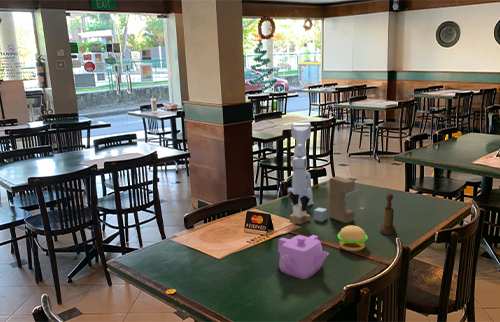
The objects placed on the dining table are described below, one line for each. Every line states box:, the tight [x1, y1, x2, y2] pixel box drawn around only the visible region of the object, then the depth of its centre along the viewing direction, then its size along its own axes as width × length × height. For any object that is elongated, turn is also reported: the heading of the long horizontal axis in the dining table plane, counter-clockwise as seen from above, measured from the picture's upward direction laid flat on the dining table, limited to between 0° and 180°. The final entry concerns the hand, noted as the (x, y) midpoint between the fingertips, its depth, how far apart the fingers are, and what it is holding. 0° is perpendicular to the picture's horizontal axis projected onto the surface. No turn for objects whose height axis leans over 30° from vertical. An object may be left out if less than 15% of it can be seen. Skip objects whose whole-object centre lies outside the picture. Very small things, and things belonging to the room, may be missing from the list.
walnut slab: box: [289, 213, 311, 225], centre depth 202 cm, size 7×7×3 cm
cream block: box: [292, 203, 307, 218], centre depth 201 cm, size 4×4×5 cm
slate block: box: [313, 207, 328, 222], centre depth 202 cm, size 4×4×5 cm
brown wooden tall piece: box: [379, 192, 397, 236], centre depth 183 cm, size 7×6×18 cm
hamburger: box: [337, 225, 368, 252], centre depth 171 cm, size 12×12×9 cm
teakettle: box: [277, 234, 330, 280], centre depth 154 cm, size 17×17×12 cm
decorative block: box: [328, 176, 356, 224], centre depth 199 cm, size 11×6×20 cm, turn 37°
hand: (299, 209), depth 201 cm, fingers open, 5 cm apart
